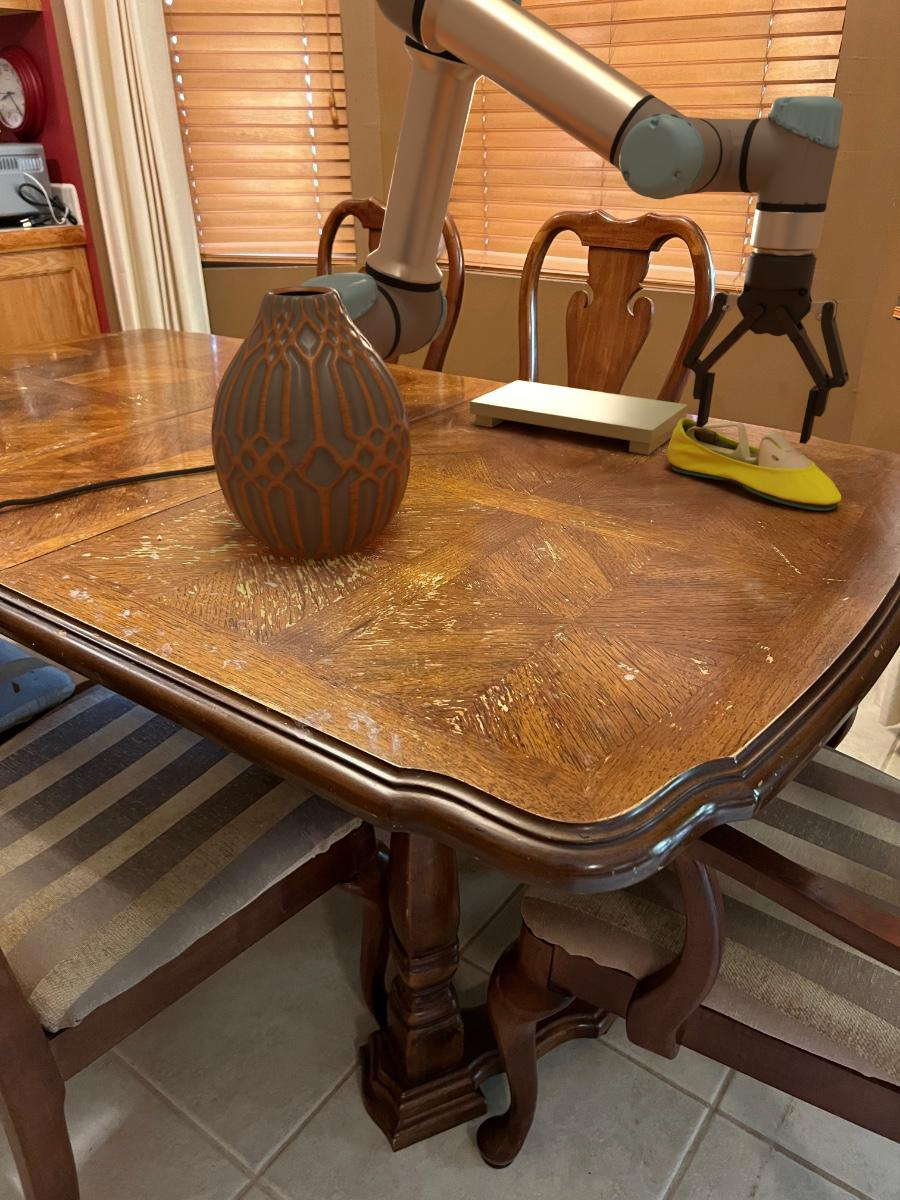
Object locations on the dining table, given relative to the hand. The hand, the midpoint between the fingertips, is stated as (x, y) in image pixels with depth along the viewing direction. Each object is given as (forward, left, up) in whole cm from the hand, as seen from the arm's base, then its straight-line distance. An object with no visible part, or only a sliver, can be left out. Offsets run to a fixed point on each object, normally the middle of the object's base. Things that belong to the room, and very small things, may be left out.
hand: (752, 432), depth 109 cm
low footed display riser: (+13, +30, -7) cm, 33 cm away
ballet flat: (0, 0, -8) cm, 8 cm away
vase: (-42, +37, -8) cm, 56 cm away
